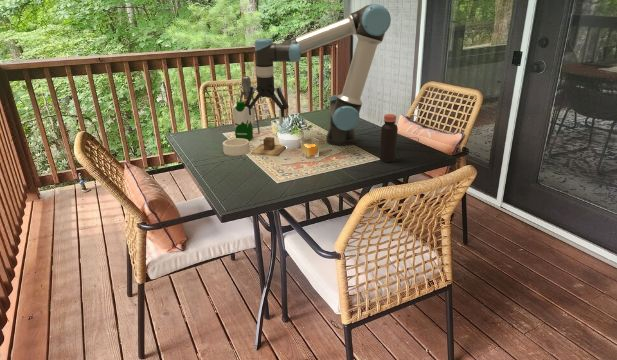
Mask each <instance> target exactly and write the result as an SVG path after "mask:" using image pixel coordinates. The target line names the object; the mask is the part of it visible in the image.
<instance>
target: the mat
mask: <svg viewBox="0 0 617 360" xmlns="http://www.w3.org/2000/svg"><path fill="white" fill-rule="evenodd" d="M287 150H288V149H285V150H284V151H283V152H282V153H281V154H280V155H279V156H267V155H254V154H251V152H249V153H248V156H257V157H270V158H281V156H282V155H283V154H285V153H286V151H287Z"/></svg>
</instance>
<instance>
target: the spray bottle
mask: <svg viewBox="0 0 617 360" xmlns="http://www.w3.org/2000/svg"><path fill="white" fill-rule="evenodd" d="M250 87H252V81H251V78H250V77H249V76H248V75H244V76H242V78H241V88H242V90H241V91H240V96H239V101H243V97H244V96H245V99H246V100H247V98H248V95H249V93H250ZM254 99H255V96H253V97H252V99H251V102H252V101H253V100H254ZM253 108H254V110H255V121H256V125H257V134H258V135H259V134H260V133H261V132H260V123H259V122H260V121H259V116H258V115H259V114H258V110H257V106H256V103H255V104H254V106H253Z"/></svg>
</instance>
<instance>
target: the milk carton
mask: <svg viewBox="0 0 617 360" xmlns="http://www.w3.org/2000/svg"><path fill="white" fill-rule="evenodd" d="M245 103H246V101H243V100H242V101H240V100H239V101H237V102H236V104H234V105H233V106H232V116H233V126H234V136H235V138H242V139H247V140H248V141H249V142H250V141H251V140H252V139H253V138H254V129H253V128H254V127H253V126H254V125H253V123H251V115H249V108H248V107H245V106H244V105H245Z"/></svg>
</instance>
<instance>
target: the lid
mask: <svg viewBox="0 0 617 360" xmlns="http://www.w3.org/2000/svg"><path fill="white" fill-rule="evenodd" d="M262 142H263V143H260V144H259V145H258V146H257V147H256V148H254V149H253V150H252V151H251V152H250V153H251V154H254V155H253V156H255V155H267V156H266V157H269V156H279V155H280V154H281V153H282V152H283V151H284V150H285V149H286V147H285V146H282V145H283V144H276V143H275V137H274V136H273V137H271V136H266V137H264V139H263V141H262Z"/></svg>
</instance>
